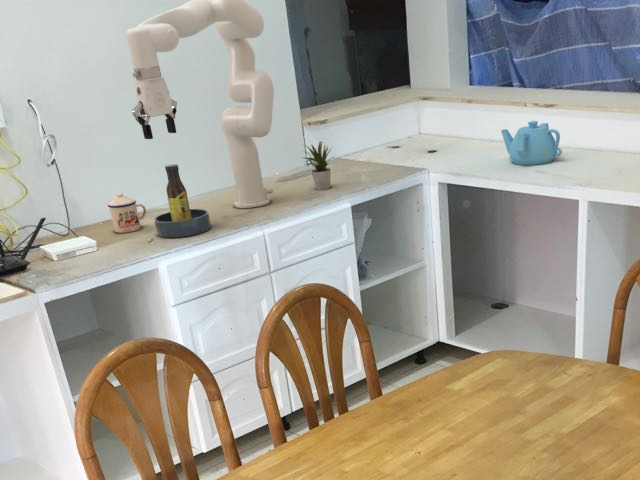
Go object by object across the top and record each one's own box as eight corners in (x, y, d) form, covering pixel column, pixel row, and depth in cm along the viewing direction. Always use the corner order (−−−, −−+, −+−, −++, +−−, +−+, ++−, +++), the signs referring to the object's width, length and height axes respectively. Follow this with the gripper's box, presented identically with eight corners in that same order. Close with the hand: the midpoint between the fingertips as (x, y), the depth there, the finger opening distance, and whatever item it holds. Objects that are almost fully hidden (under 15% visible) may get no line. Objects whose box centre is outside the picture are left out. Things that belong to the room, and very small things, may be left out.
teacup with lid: (119, 234, 306) (110, 198, 300) (110, 230, 313) (101, 194, 307) (153, 227, 311) (145, 191, 305) (144, 223, 318) (136, 187, 312)
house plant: (304, 185, 349) (298, 138, 340) (341, 181, 348) (335, 134, 339) (301, 193, 337) (294, 145, 328) (339, 189, 336) (333, 141, 327)
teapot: (549, 153, 359) (549, 114, 351) (566, 162, 343) (566, 121, 335) (501, 160, 357) (500, 121, 349) (516, 169, 341) (515, 128, 333)
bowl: (185, 222, 313) (182, 207, 310) (221, 226, 304) (219, 210, 301) (146, 236, 301) (143, 220, 299) (183, 240, 292) (180, 224, 290)
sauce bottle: (189, 232, 299) (175, 167, 289) (171, 233, 300) (157, 168, 290) (197, 227, 304) (184, 162, 294) (179, 227, 306) (165, 163, 295)
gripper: (134, 78, 270) (147, 141, 279) (177, 69, 281) (189, 130, 290) (117, 78, 274) (131, 141, 283) (160, 70, 285) (173, 130, 294)
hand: (160, 135), depth 287 cm, fingers open, 9 cm apart
